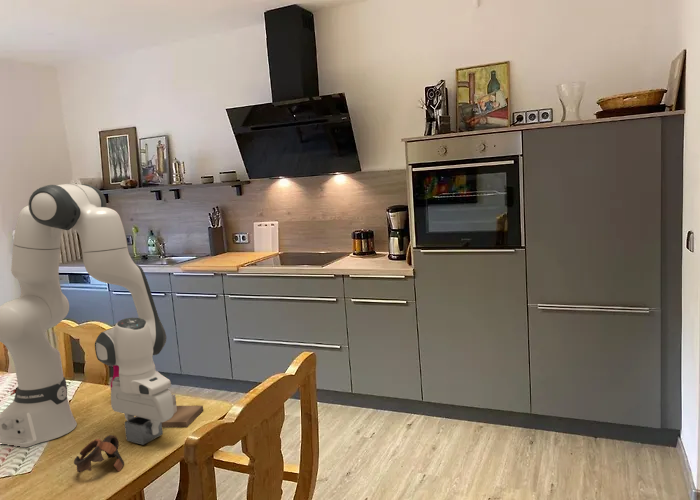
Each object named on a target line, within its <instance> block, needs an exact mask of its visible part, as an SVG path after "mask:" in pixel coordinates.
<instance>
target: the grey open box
mask: <svg viewBox="0 0 700 500" xmlns="http://www.w3.org/2000/svg"><path fill="white" fill-rule="evenodd" d="M123 423H124V432H125V439H126V441H128V442H131V443H133V444H134V443H135V444H138V445H142V446H143V445H146V444H148V443H150V442H151V441H153V440H154V439H156V438H158V437H160V436H162V435H163V434H164V433H163V427H162V422H160V425H159V427H158V428H159V433H158V434H156V435H151V434H150V431H149V428H151V427H152V424H153V423H151V420H149V419H145V418H141V417H137V416H134V418H132V419H130V420H128V421H127V420H126V421H124V422H123Z"/></svg>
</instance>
